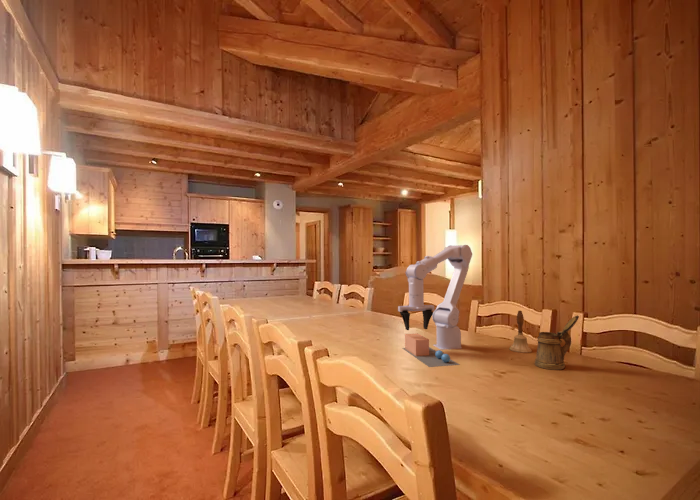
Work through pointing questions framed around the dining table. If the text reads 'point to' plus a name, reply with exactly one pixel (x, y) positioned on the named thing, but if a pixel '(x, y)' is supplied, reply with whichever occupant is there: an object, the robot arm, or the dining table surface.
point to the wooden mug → (553, 347)
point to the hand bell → (520, 337)
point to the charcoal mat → (433, 359)
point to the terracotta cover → (417, 344)
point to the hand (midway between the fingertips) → (416, 329)
